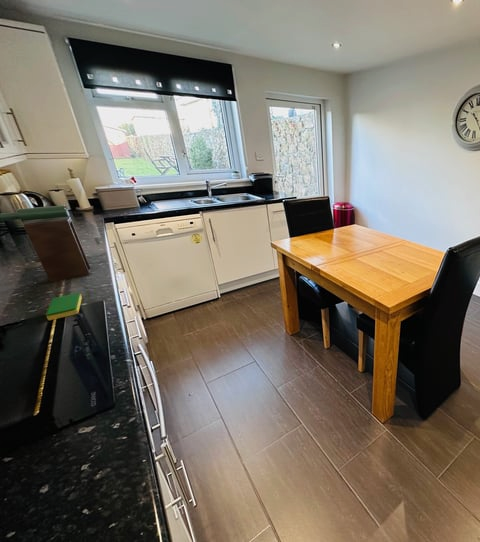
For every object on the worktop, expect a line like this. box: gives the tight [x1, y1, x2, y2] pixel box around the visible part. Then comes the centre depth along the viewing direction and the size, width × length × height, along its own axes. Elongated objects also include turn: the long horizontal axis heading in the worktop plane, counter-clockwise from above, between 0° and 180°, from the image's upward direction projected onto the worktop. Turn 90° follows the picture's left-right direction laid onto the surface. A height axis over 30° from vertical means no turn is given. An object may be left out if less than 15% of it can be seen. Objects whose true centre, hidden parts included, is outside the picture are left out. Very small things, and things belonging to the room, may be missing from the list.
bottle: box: [0, 205, 71, 223], centre depth 108 cm, size 21×5×5 cm, turn 130°
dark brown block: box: [22, 216, 92, 283], centre depth 116 cm, size 12×10×25 cm
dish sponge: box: [45, 292, 83, 321], centre depth 96 cm, size 7×14×2 cm, turn 38°
